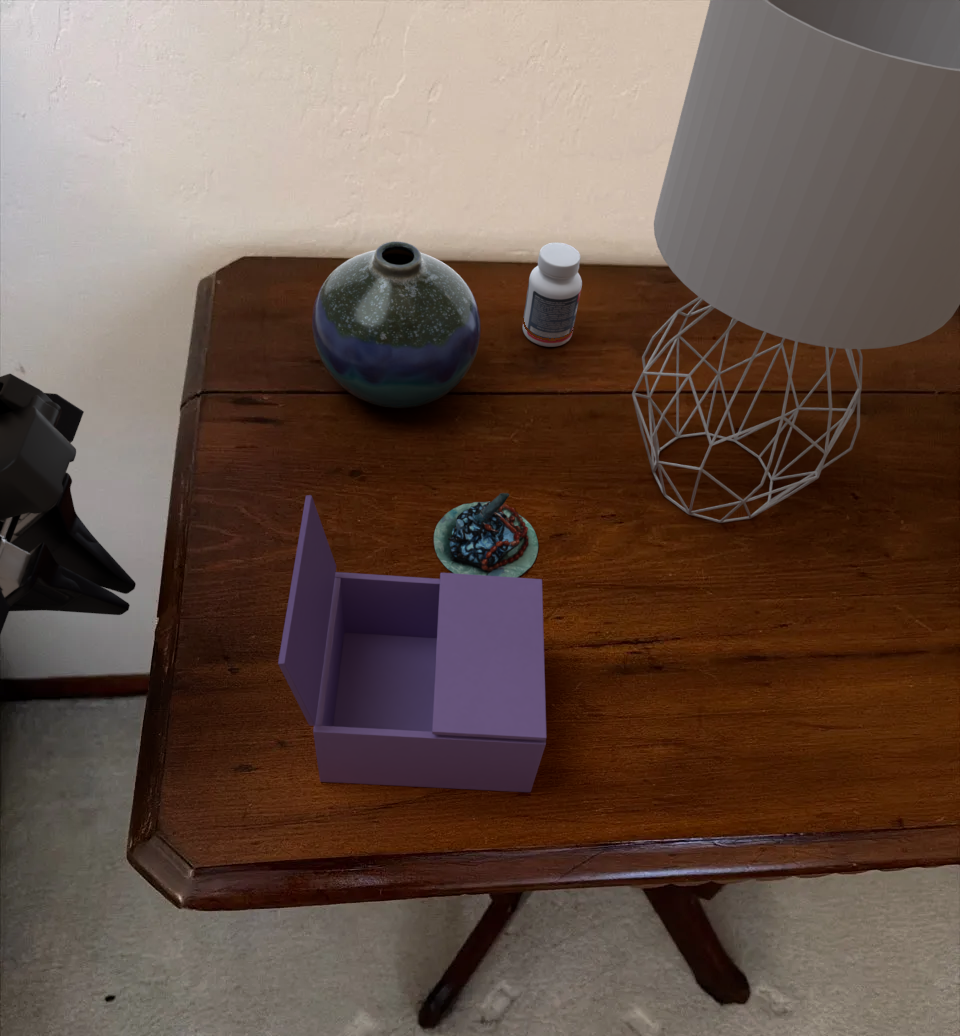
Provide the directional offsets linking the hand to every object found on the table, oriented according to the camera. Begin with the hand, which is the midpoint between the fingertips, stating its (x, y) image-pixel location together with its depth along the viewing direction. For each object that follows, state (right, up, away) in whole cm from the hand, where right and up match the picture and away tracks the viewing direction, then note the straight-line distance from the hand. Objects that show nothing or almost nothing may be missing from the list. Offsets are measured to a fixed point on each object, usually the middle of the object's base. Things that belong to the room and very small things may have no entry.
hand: (128, 599), depth 58 cm
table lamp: (+44, +13, +27) cm, 53 cm away
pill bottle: (+29, +29, +37) cm, 56 cm away
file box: (+19, -8, +11) cm, 23 cm away
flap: (+12, -1, 0) cm, 12 cm away
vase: (+14, +23, +31) cm, 41 cm away
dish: (+23, +6, +20) cm, 31 cm away
